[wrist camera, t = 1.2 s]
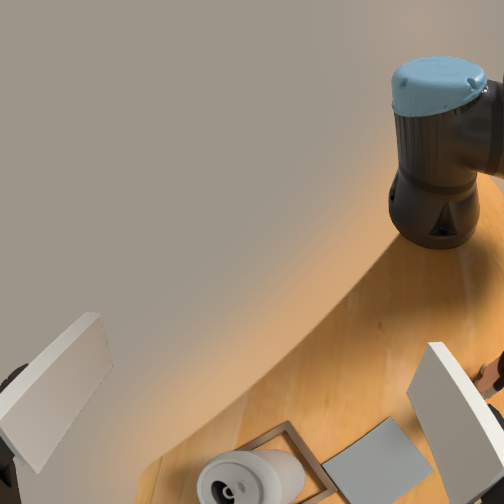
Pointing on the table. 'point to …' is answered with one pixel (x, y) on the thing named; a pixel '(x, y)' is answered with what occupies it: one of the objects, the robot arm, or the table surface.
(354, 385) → the table surface
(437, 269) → the table surface
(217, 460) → the can
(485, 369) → the grandmother figurine
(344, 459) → the coaster
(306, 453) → the brown square frame
